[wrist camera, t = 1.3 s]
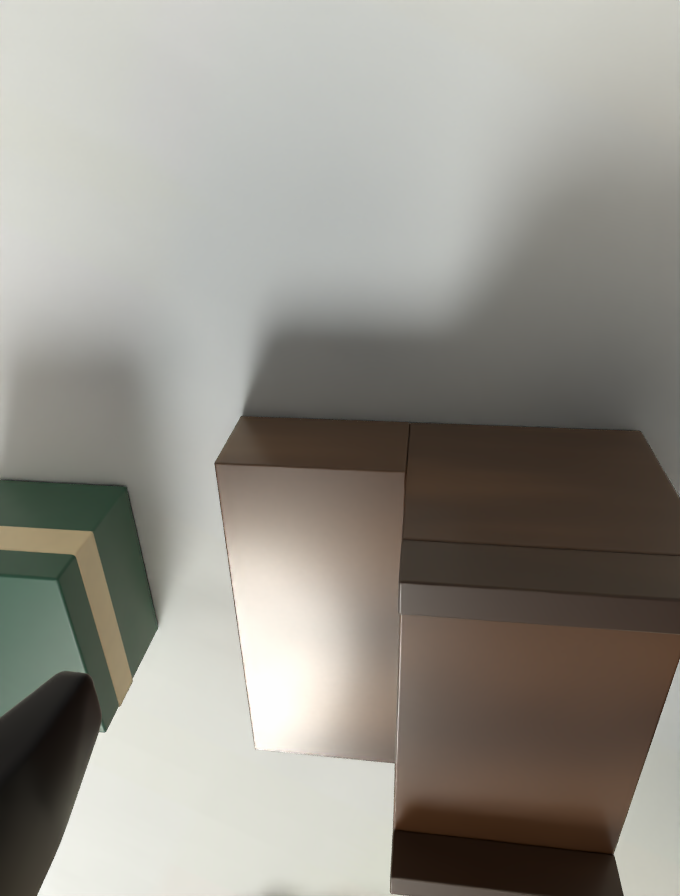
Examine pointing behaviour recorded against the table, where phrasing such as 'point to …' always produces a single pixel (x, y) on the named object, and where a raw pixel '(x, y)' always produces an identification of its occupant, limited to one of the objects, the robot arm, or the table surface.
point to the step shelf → (461, 631)
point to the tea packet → (71, 590)
